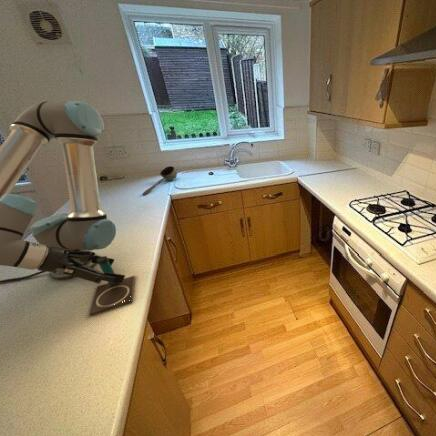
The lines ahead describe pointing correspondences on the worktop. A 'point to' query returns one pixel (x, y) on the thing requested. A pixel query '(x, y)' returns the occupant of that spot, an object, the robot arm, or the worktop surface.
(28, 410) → the worktop surface
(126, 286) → the induction cooktop
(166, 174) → the ladle
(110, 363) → the worktop surface
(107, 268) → the marker
